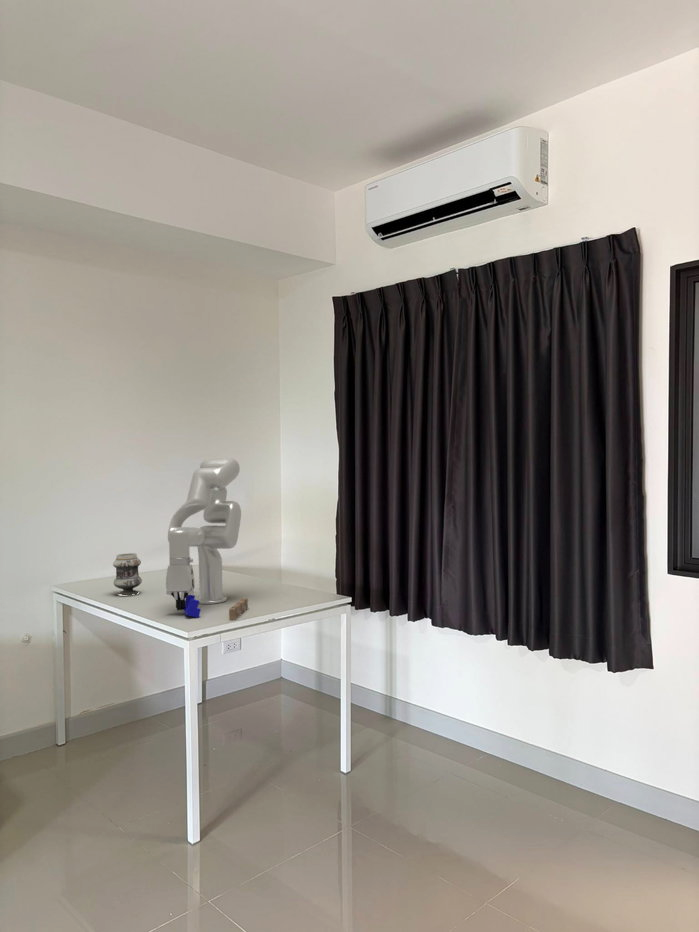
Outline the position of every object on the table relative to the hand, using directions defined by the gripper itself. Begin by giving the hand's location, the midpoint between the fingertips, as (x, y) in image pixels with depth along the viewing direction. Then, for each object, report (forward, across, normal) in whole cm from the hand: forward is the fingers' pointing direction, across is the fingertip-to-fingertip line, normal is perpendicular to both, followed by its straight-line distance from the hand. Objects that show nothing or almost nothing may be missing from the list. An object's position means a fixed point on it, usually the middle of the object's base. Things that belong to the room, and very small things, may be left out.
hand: (180, 609), depth 267 cm
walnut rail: (+2, -23, -1) cm, 23 cm away
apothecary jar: (+2, +39, -40) cm, 56 cm away
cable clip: (+1, -4, +1) cm, 4 cm away
